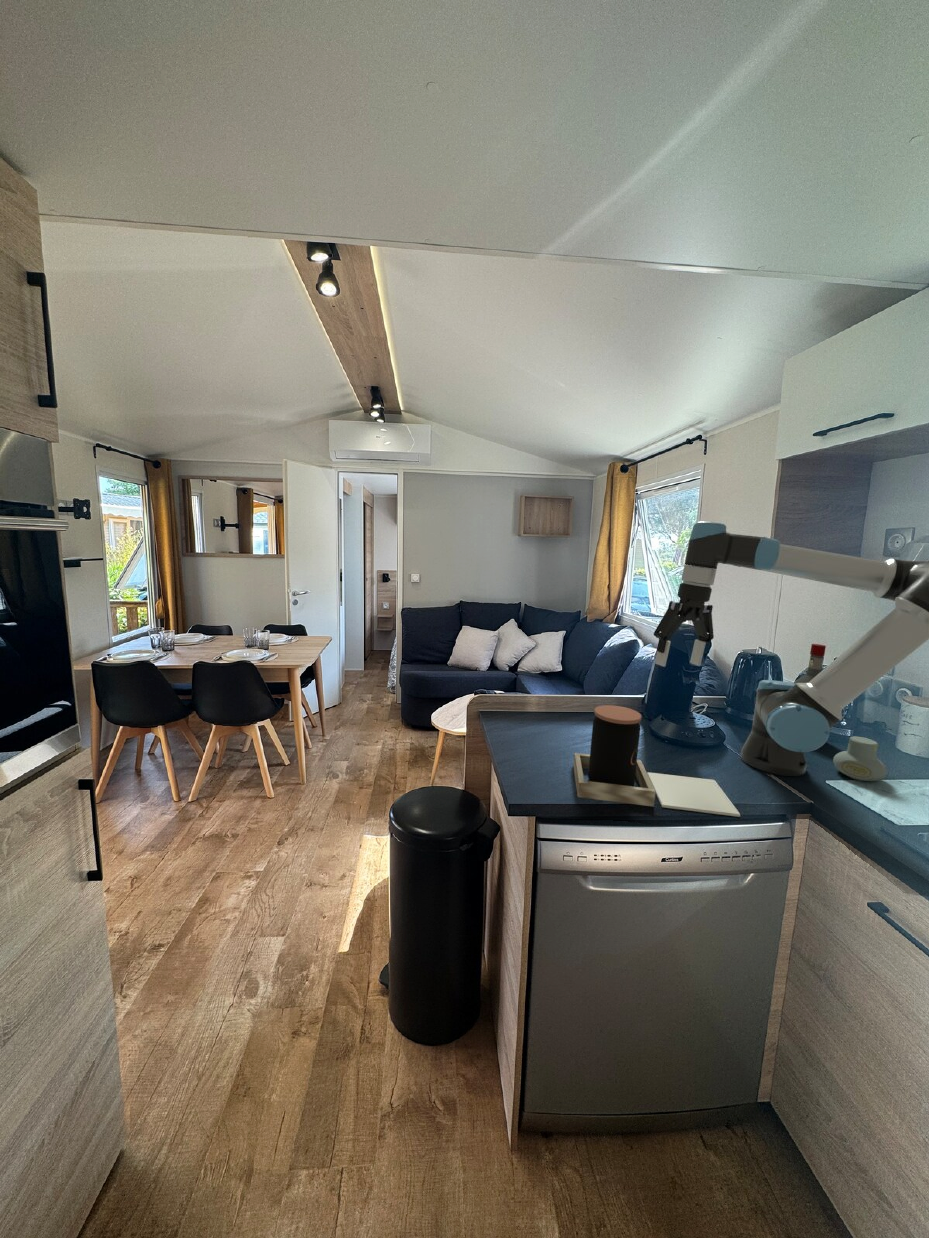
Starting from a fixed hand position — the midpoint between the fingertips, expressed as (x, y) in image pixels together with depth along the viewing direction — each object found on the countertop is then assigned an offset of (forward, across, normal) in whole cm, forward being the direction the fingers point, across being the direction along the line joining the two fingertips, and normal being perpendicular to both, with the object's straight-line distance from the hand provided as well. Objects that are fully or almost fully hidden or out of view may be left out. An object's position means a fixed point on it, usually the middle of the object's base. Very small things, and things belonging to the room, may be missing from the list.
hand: (677, 664), depth 127 cm
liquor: (+23, -60, +6) cm, 65 cm away
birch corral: (+28, +22, +6) cm, 36 cm away
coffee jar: (+28, +22, +6) cm, 36 cm away
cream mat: (+26, +8, +16) cm, 32 cm away
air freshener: (+23, -44, +27) cm, 56 cm away
